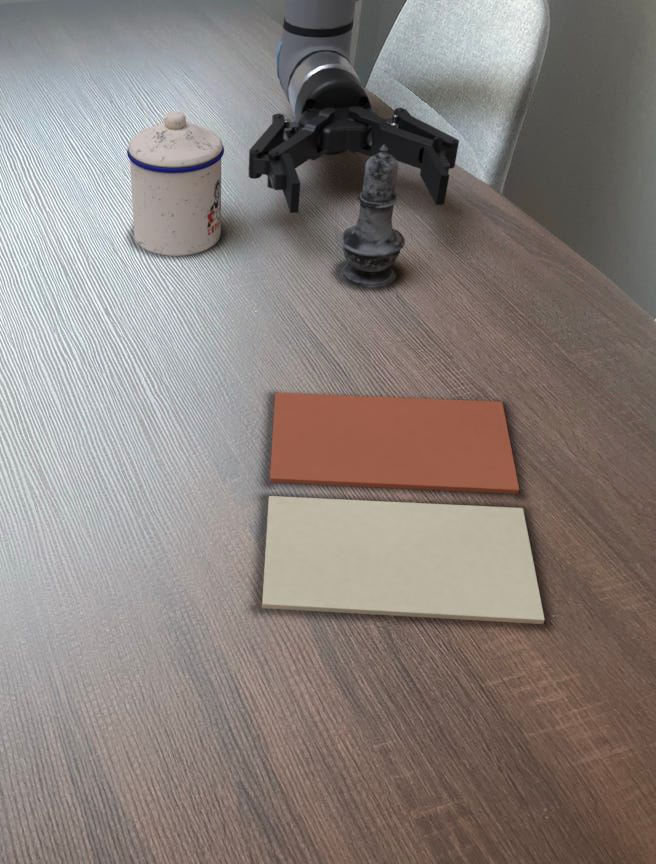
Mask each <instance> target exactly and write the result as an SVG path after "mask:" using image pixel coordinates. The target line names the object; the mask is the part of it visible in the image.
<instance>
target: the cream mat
mask: <svg viewBox="0 0 656 864" xmlns="http://www.w3.org/2000/svg"><path fill="white" fill-rule="evenodd" d="M267 503H268V504H267V520H266V536H265V553H264V567H263V568H264V570H263V587H262V601H261V608H262V609H271V610H287V611H302V612H303V611H304V612H305V611H307V612H324V613H342V614H357V615H358V614H359V615H375V616H376V615H377V616H391V617H392V616H394V617H411V618H427V619H429V618H430V619H445V620H446V619H447V620H461V621H479V622H481V621H483V622H498V623H517V624H532V625H533V624H534V625H544V623H545V621H546V619H545V614H544V609H543V604H542V599H541V593H540V589H539V583H538V579H537V572H536V567H535V562H534V557H533V553H532V548H531V542H530V536H529V532H528V531H529V530H528V525H527V522H526V517H525V511H524V508H523V507H512V506H511V507H508V506H488V505H470V504H469V505H468V504H465V505H464V504H448V503H447V504H444V503H424V502H407V501H405V502H403V501H385V500H384V501H382V500H361V499H340V498H322V497H303V496H301V497H300V496H299V497H297V496H276V495H269V496H268V501H267Z"/></svg>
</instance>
